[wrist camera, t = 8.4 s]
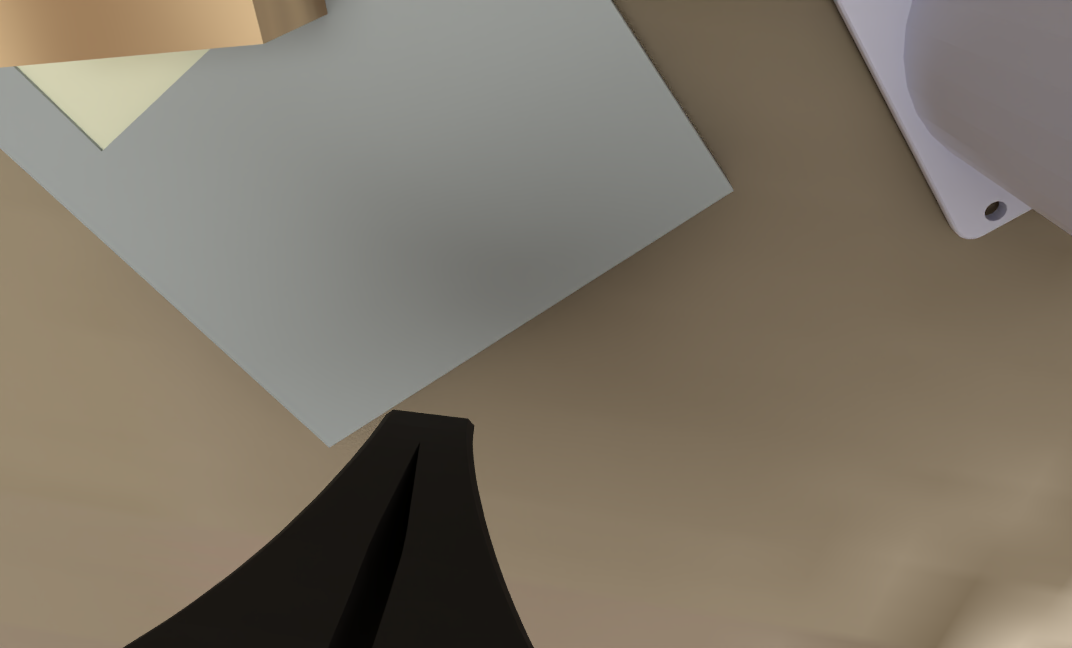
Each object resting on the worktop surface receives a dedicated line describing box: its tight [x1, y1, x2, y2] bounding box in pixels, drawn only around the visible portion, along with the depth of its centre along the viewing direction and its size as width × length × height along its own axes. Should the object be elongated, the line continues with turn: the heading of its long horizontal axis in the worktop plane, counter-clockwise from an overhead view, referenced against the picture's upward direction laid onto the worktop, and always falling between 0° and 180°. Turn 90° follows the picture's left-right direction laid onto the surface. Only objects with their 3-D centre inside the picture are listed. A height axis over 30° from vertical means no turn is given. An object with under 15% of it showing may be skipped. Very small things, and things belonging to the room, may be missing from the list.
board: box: [0, 0, 734, 447], centre depth 17 cm, size 14×21×1 cm, turn 37°
